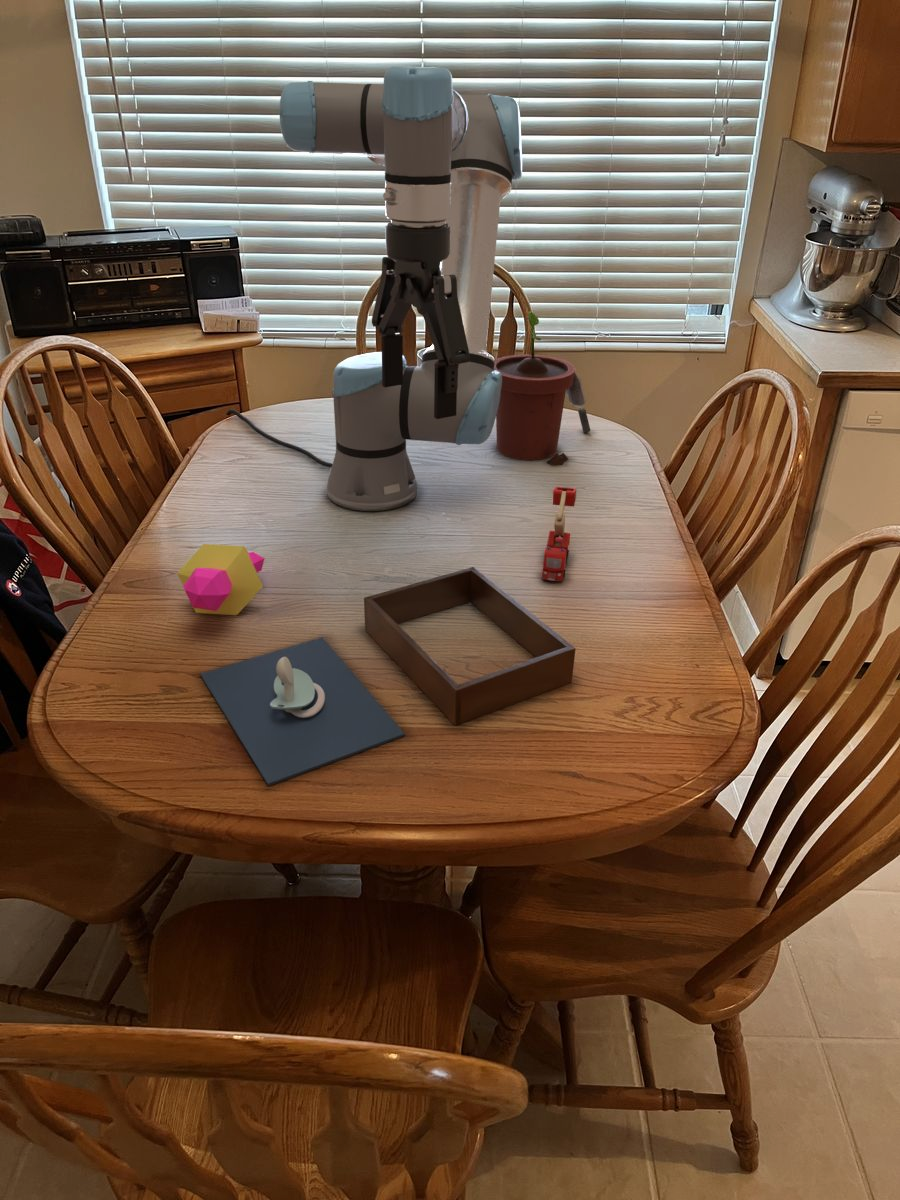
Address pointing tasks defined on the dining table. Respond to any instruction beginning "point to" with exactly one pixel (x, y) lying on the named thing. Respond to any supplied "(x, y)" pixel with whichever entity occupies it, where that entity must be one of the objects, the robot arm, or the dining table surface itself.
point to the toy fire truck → (558, 547)
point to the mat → (286, 738)
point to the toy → (221, 578)
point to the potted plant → (535, 403)
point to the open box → (507, 613)
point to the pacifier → (295, 691)
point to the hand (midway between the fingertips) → (417, 400)
